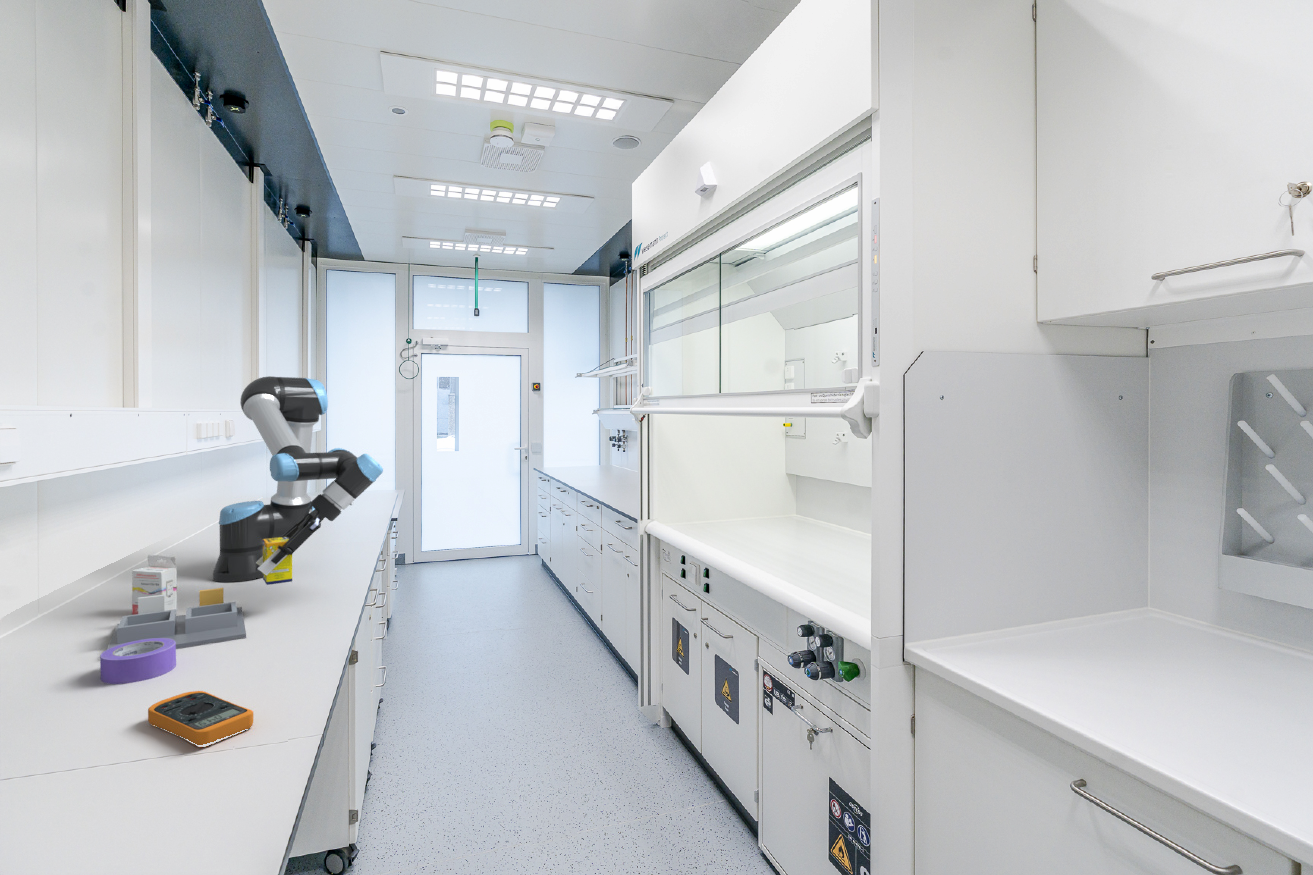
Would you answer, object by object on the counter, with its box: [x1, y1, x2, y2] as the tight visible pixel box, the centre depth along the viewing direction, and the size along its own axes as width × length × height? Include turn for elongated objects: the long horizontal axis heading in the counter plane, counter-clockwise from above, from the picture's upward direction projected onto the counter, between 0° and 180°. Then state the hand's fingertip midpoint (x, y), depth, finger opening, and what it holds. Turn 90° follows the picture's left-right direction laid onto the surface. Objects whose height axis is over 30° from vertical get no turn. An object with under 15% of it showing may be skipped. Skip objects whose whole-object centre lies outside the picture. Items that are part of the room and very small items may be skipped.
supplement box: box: [262, 537, 293, 586], centre depth 164 cm, size 6×6×11 cm
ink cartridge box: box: [131, 554, 178, 615], centre depth 163 cm, size 9×5×15 cm, turn 84°
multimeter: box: [147, 690, 254, 745], centre depth 106 cm, size 9×18×3 cm, turn 62°
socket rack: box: [106, 587, 247, 650], centre depth 149 cm, size 24×25×7 cm
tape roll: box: [99, 638, 177, 685], centre depth 127 cm, size 12×12×5 cm
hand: (261, 568), depth 162 cm, fingers closed on supplement box, 6 cm apart
